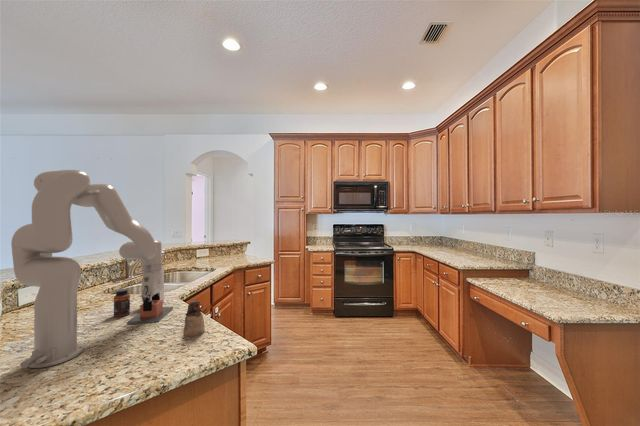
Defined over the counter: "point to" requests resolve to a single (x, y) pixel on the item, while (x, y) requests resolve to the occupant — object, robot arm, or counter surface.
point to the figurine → (194, 320)
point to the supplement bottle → (121, 303)
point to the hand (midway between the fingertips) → (151, 307)
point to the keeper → (150, 317)
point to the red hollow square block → (155, 310)
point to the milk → (162, 285)
